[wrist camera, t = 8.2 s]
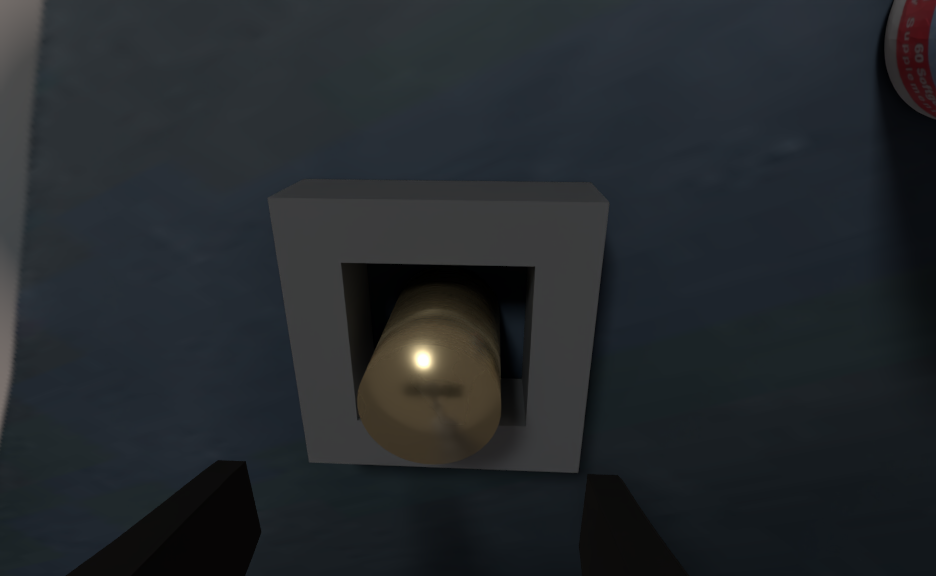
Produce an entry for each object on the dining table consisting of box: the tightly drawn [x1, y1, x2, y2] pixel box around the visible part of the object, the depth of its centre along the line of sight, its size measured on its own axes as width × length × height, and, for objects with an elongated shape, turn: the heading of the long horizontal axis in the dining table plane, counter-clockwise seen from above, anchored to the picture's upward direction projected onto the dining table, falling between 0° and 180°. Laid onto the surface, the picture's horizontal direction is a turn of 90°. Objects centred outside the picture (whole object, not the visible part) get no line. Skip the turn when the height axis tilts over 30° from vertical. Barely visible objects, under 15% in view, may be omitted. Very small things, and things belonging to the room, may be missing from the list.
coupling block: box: [268, 179, 609, 473], centre depth 18 cm, size 10×10×3 cm
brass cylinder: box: [357, 265, 501, 465], centre depth 16 cm, size 4×4×6 cm
